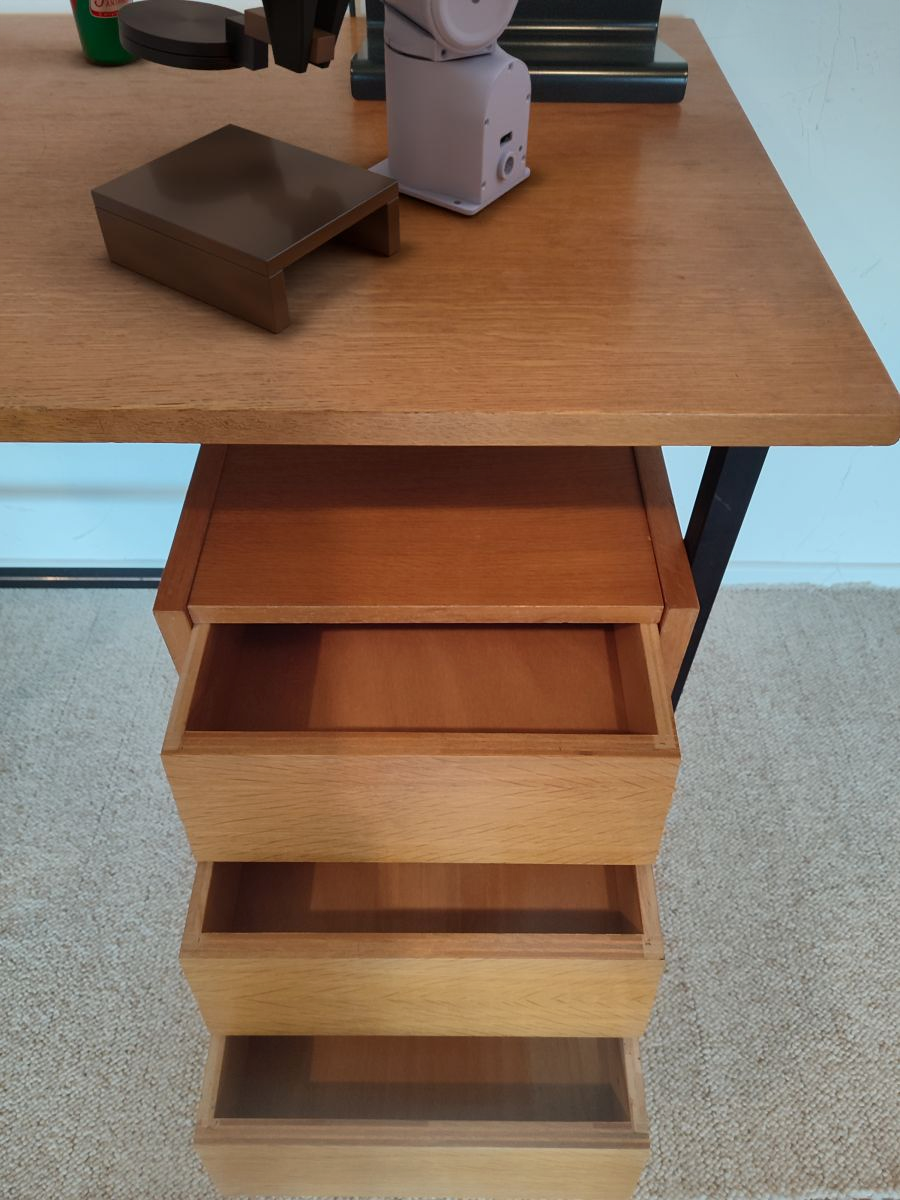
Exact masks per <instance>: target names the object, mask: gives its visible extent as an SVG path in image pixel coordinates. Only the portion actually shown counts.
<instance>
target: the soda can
mask: <svg viewBox="0 0 900 1200" xmlns="http://www.w3.org/2000/svg"><path fill="white" fill-rule="evenodd" d="M133 2H134V0H69V5H70V8H71V11H72V15H73V19H74V23H75V27H76V31H77V35H78V39H79V42H80V47H81V51H82V53H83V55H84V56H85V57H86V58H87V59H88V60H89V61H90V62H92V63H93V64H97V65H101V66H111V67H112V66H121V65H125V64H126V65H127V64H130V63H131V62H134V61H135V60H137V59H138V58H139V57H137V56H135V55H133V54H132V53H130V52H128V51H127V50H126V49H125V48H124V47H123V46H122V45H121V42H120V35H119V25H118V11H119V9H120V8H121V7H123V6H125V5H127V4H129V3H133Z"/></svg>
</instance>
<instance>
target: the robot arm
mask: <svg viewBox="0 0 900 1200" xmlns="http://www.w3.org/2000/svg"><path fill="white" fill-rule="evenodd" d="M379 1H380V2H381V3H382V4H383V5H384V25H383V40H384V42H383V43H384V44H383V45H384V72H385V73H384V74H385V75H384V76H385V102H386V103H385V104H386V129H387V130H386V134H387V135H386V136H387V158H384V159H383V160H382V161H380V162H378V163H376V164H374V165H372V166H371V167H369V168H368V169H367V170H369V171H372V172H375V173H378V174H381V175H384V176H387V177H390V178H393V179H395V180H398V187H399V193H401V194H404V195H407V196H409V197H412V198H416V199H417V200H418V199H419V200H421V201H425V202H427V203H431V204H433V205H436V206H439V207H441V208H445V209H448V210H451V211H454V212H456V213H458V214H463V215H465V216H474V215H475V214H477V213H478V212H480V211H482V210H483V209H484V208H486V207H487V206H489V205H490V204H491V203H493V202H494V201H496V200H498V199H499V198H500V197H502V195H504V194H506V193H507V192H509V191H511V189H513V188H514V187H515V186H517V185H518V184H520V183H521V182H523V181H524V180H526V179H527V178H528V177H530V176H531V169H530V168H529V167H527V166H526V165H527V163H526V162H527V151H528V138H529V137H528V136H529V124H530V112H531V99H532V81H531V75H530V71H529V69H528V66H527V64H526V63H525V62H524V61H522V60H521V59H520V58H517V57H515V56H513V55H511V54H509V53H508V52H506V51H505V50H504V49H502V48H501V46H500V45H499V44H498V39H499V38H500V37H501V35H502V34H503V33H504V31H505V30H506V29H507V27H508V25H509V24H510V22H511V19H512V18H513V14H514V12H515V9H516V7H517V5H518V2H519V0H379ZM261 3H262V7H263V8H264V12H265V16H266V21H267V26H268V30H269V36H270V41H271V45H270V46H271V51H272V56H273V62H274V65H276V66H278V67H281V68H283V69H286V70H288V71H291V72H293V73H295V74H298V75H299V74H304V73H307V70H308V67H309V64H310V65H311V66H313V67H314V66H315V67H317V68H319V69H321V70H324V69H327V68H329V67H330V65H331V62H332V60H331V61H327V62H323V63H319V64H317V63H314V62H312V61H309V58H310V53H311V47H312V38H313V28H314V27H316V28H319V29H321V30H324V31H326V32H329V33H331V34H334V35H335V46H337V43H338V38H339V35H340V32H341V29H342V25H343V23H344V19H345V16H346V13H347V10H348V7H349V5H350V3H351V0H261Z"/></svg>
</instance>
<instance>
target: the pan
mask: <svg viewBox="0 0 900 1200" xmlns="http://www.w3.org/2000/svg"><path fill="white" fill-rule="evenodd" d="M118 25H119V35H120V42H121V45H122V46H123V47H124V48H125V49H126V50H127V51H128V52H130V53H132V54H133V55H135V56H137V57H138V58H139V59H142V60H144V61H147V62H151V63H153V64H158V65H161V66H166V67H170V68H175V69H183V70H189V71H190V70H191V71H207V72H208V71H209V72H211V71H213V72H214V71H215V72H216V71H218V72H219V71H230V70H231V71H232V70H237V69H242V68H245V69H247V70H250V71H252V72H255V71H259V70H264V69H268V68H269V46H271V41H270V36H269V30H268V26H267V21H266V16H265V12H264V8H263V6H257V7H250V8H247V9H244V10H243V12H240V11H239V10H236V9H234V8H229V7H226V6H224V5H223V6H222V5H219V4H214V3H211V2H210V3H209V2H203V1H199V0H138V1H133V3H129V4H127V5H125V6H123V7H121V8H120V9H119V11H118ZM335 50H336V45H335V35H334V34H331V33H329V32H326V31H324V30H321V29H319V28H316V27H314V28H313V38H312V47H311V53H310V58H309V61H312V62H314V63H317V64H319V63H323V62H327V61H331V62H332V61H334V60H335Z"/></svg>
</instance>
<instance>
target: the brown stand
mask: <svg viewBox="0 0 900 1200" xmlns="http://www.w3.org/2000/svg"><path fill="white" fill-rule="evenodd" d="M90 195H91V198H92V201H93V205H94V210H95V214H96V216H97V220H98V224H99V227H100V231H101V235H102V238H103V242H104V246H105V249H106V252H107V256H108V260H109V261H111V262H113V263H115V264H117V265H120V266H122V267H124V268H126V269H129V270H131V271H134V272H136V273H137V274H140V275H142V276H145V277H147V278H148V279H151V280H154V281H156V282H158V283H161V284H164V285H165V286H168V287H170V288H172V289H174V290H177V291H179V292H180V293H183V294H185V295H187V296H190V297H193V298H195V299H197V300H199V301H202V302H204V303H206V304H209V305H210V306H213V307H215V308H218V309H219V310H222V311H224V312H227V313H229V314H231V315H232V316H236V317H238V318H240V319H242V320H245V321H247V322H250V323H252V324H254V325H256V326H259V327H261V328H263V329H265V330H267V331H270V332H271V333H275V334H279V333H280V332H281V331H283V330H284V329H286V328H287V327H289V326H290V325H291V322H290V321H291V319H290V313H289V305H288V299H287V298H288V297H287V289H286V281H285V274H284V269H285V268H286V267H288V266H290V265H291V264H293V263H294V262H296V261H298V260H300V258H302V257H303V256H305V255H307V254H309V253H310V252H312V251H313V250H315V249H317V248H318V247H319V246H321V245H323V244H324V243H326V242H328V241H329V240H330V239H332V238H334V237H337V238H339V239H342V240H344V241H348V242H350V243H353V244H355V245H358V246H360V247H362V248H365V249H368V250H370V251H371V250H372V251H374V252H377V253H379V254H382V255H384V256H387V257H391V256H392V255H394V254H396V253H397V252H399V251H400V250H401V225H400V224H401V223H400V221H401V220H400V192H399V187H398V180H395V179H393V178H390V177H387V176H384V175H381V174H378V173H375V172H372V171H369V170H368V169H365V168H363V167H360V166H357V165H354V164H351V163H347V162H346V161H342V160H339V159H336V158H333V157H330V156H328V155H325V154H321V153H319V152H316V151H312V150H310V149H306V148H303V147H301V146H298V145H295V144H292V143H289V142H286V141H283V140H280V139H277V138H274V137H272V136H268V135H265V134H262V133H259V132H256V131H254V130H251V129H247V128H245V127H241V126H239V125H236V124H233V123H229V124H226V125H224V126H222V127H219V128H218V129H216V130H213V131H212V132H211V131H210V132H209V133H207V134H206V135H203V136H201V137H199V138H197V139H195V140H192V141H190V142H188V143H186V144H184V145H182V146H179V147H178V148H176V149H174V150H172V151H169V152H167V153H166V154H163V155H161V156H159V157H157V158H155V159H153V160H150V161H148V162H146V163H144V164H142V165H140V166H138V167H136V168H134V169H131V170H130V171H128V172H126V173H123V174H121V175H120V176H117V177H115V178H113V179H111V180H108V181H107V182H104V183H102V184H101V185H98V186H96V187H94V188H91V189H90Z"/></svg>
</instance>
